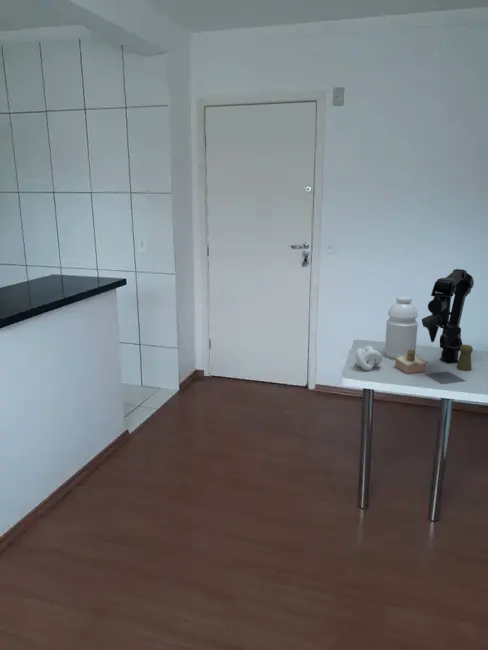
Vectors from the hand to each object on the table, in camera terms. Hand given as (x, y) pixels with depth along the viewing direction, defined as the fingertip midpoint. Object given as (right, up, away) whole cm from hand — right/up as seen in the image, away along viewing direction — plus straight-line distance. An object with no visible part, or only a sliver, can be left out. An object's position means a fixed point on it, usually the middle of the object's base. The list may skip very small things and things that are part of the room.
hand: (439, 345), depth 221 cm
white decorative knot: (-29, -11, +8) cm, 32 cm away
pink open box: (-11, -11, +5) cm, 16 cm away
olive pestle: (+13, -11, +6) cm, 18 cm away
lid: (-11, -7, +4) cm, 14 cm away
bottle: (-10, -6, +25) cm, 27 cm away
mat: (0, -14, -5) cm, 15 cm away
